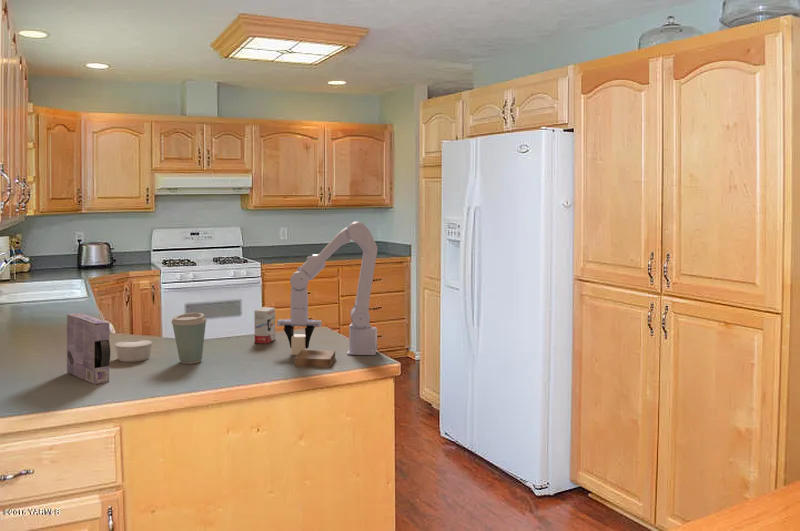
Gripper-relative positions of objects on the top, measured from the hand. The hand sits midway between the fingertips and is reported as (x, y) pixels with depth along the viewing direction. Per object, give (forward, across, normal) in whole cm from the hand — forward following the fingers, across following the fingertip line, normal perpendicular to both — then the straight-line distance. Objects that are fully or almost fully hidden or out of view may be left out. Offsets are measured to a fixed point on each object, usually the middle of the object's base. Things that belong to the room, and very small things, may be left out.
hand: (299, 347), depth 234 cm
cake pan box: (+2, +54, +36) cm, 65 cm away
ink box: (+2, +16, -17) cm, 23 cm away
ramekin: (+2, +51, +13) cm, 53 cm away
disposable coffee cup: (+2, +32, +15) cm, 35 cm away
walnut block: (+2, -8, +12) cm, 14 cm away
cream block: (+2, 0, 0) cm, 2 cm away
